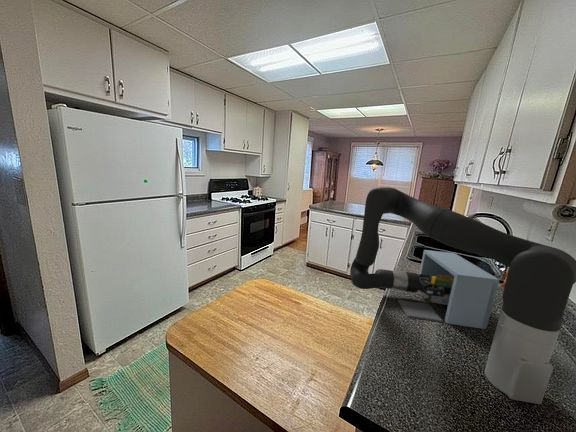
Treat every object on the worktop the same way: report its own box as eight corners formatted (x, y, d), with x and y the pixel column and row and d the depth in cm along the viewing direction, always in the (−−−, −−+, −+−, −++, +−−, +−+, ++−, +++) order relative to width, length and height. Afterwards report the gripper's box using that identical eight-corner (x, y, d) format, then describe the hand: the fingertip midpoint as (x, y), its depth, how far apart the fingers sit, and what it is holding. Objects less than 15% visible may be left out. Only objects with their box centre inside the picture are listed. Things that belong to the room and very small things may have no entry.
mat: (442, 321, 79) (442, 320, 79) (407, 316, 80) (407, 315, 80) (428, 305, 88) (428, 304, 88) (397, 301, 90) (398, 299, 90)
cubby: (486, 329, 77) (499, 279, 73) (446, 323, 78) (458, 274, 75) (446, 291, 101) (454, 253, 98) (416, 287, 102) (424, 249, 99)
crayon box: (447, 301, 93) (453, 273, 90) (451, 305, 90) (457, 277, 88) (427, 298, 94) (432, 271, 92) (430, 302, 91) (436, 274, 89)
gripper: (411, 280, 84) (461, 286, 83) (398, 265, 98) (441, 270, 97) (408, 299, 86) (457, 306, 84) (395, 281, 100) (437, 287, 98)
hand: (448, 287), depth 90 cm, fingers open, 7 cm apart
